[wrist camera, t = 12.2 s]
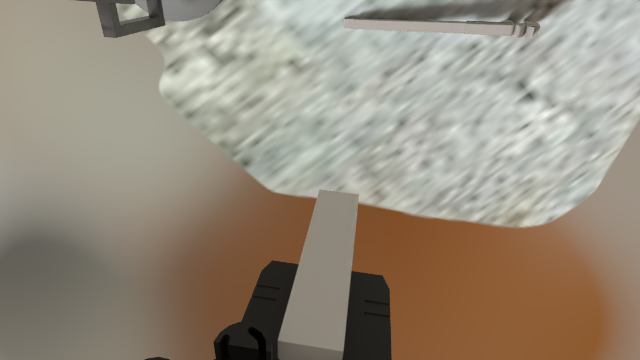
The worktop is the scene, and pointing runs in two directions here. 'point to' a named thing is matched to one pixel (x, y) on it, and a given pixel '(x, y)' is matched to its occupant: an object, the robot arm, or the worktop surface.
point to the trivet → (183, 8)
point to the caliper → (448, 26)
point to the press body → (117, 29)
